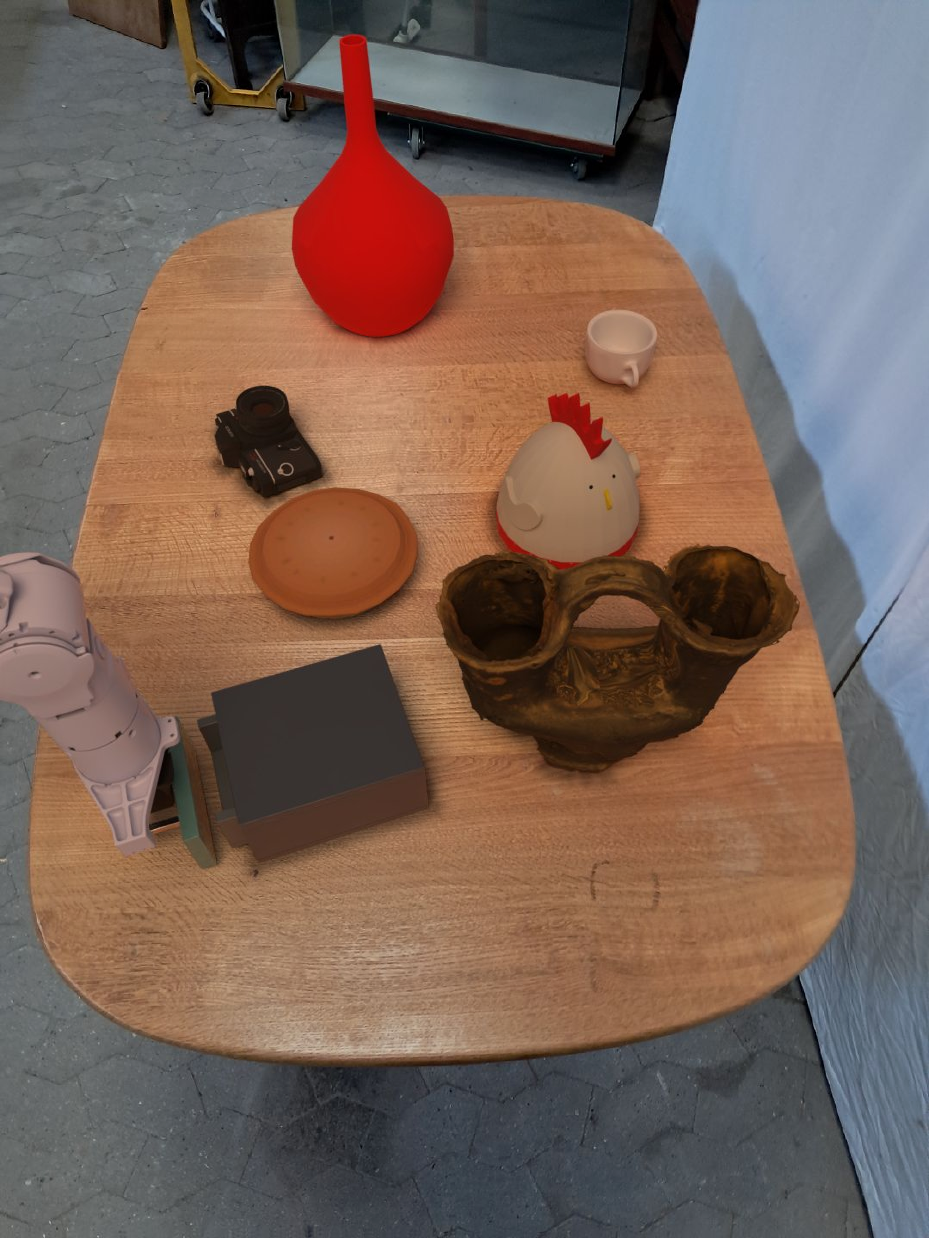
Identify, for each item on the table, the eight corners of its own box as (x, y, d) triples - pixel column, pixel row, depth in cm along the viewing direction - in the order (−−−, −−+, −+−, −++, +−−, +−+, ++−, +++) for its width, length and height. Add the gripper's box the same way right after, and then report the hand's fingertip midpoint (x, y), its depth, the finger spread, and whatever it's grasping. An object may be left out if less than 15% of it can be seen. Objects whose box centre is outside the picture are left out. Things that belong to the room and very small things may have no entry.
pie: (232, 548, 88) (220, 512, 84) (378, 492, 92) (373, 456, 88) (291, 665, 80) (281, 632, 76) (448, 598, 84) (446, 563, 80)
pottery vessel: (726, 661, 79) (789, 504, 63) (754, 774, 73) (832, 630, 57) (441, 671, 79) (432, 515, 63) (443, 784, 73) (433, 643, 57)
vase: (315, 268, 116) (273, 1, 92) (458, 270, 115) (453, 2, 91) (293, 359, 105) (238, 83, 81) (451, 361, 104) (443, 85, 80)
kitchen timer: (548, 595, 84) (560, 479, 72) (469, 504, 91) (468, 384, 79) (666, 535, 88) (695, 415, 76) (582, 452, 95) (597, 331, 83)
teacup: (574, 354, 105) (578, 314, 100) (638, 346, 106) (644, 305, 101) (598, 411, 99) (603, 371, 95) (665, 401, 100) (674, 361, 95)
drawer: (142, 888, 67) (120, 861, 63) (126, 768, 73) (104, 736, 69) (362, 817, 70) (355, 787, 66) (329, 708, 76) (320, 673, 72)
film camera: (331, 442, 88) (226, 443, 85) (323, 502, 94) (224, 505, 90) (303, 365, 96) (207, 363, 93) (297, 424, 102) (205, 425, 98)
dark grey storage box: (258, 864, 69) (238, 825, 63) (230, 737, 75) (210, 692, 70) (428, 809, 71) (424, 767, 66) (387, 690, 78) (380, 643, 72)
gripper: (172, 790, 54) (230, 872, 65) (141, 607, 62) (197, 707, 73) (52, 828, 53) (131, 905, 64) (37, 637, 61) (109, 734, 72)
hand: (160, 801), depth 68 cm, fingers closed, pressing on drawer
